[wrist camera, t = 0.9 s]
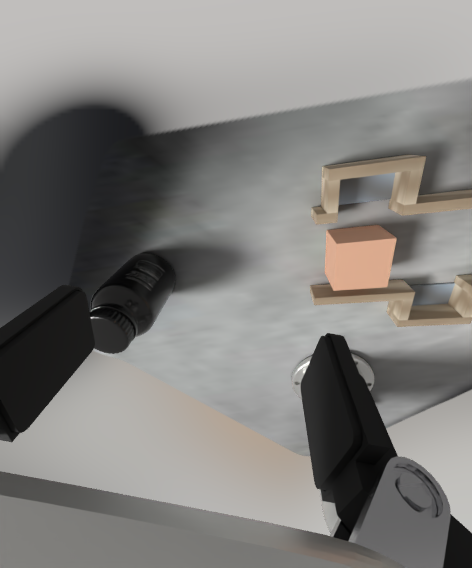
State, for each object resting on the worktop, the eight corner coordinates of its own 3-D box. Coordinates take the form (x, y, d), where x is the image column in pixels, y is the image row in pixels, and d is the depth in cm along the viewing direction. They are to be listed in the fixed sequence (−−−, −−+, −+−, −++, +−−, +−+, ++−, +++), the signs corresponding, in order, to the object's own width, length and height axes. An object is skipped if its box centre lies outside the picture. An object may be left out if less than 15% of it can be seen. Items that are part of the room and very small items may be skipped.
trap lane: (479, 307, 31) (499, 322, 29) (309, 316, 34) (313, 330, 32) (554, 134, 22) (594, 133, 19) (312, 167, 25) (318, 171, 22)
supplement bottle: (117, 263, 33) (51, 320, 23) (157, 243, 31) (104, 294, 20) (148, 302, 36) (102, 368, 25) (186, 285, 34) (153, 350, 23)
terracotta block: (371, 268, 30) (387, 287, 26) (324, 271, 31) (333, 290, 27) (377, 224, 27) (396, 238, 23) (326, 229, 28) (336, 243, 24)
